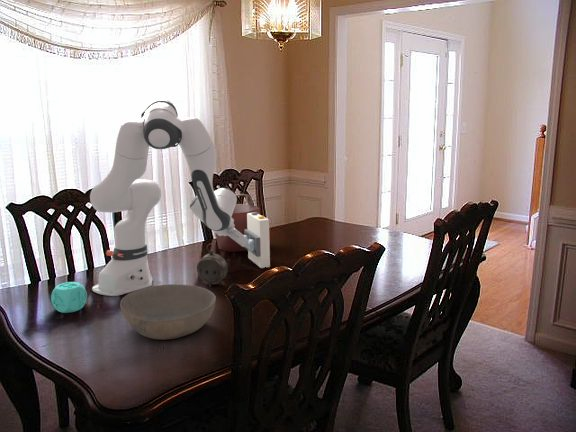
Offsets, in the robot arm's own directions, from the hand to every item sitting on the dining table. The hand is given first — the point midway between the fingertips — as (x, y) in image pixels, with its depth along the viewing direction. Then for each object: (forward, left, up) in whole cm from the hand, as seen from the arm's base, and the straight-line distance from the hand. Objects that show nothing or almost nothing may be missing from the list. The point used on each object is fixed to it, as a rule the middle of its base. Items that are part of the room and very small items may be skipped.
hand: (247, 245), depth 214 cm
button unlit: (+6, +6, -3) cm, 9 cm away
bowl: (-61, -16, -9) cm, 64 cm away
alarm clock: (-25, -2, -9) cm, 27 cm away
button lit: (+2, -1, -3) cm, 3 cm away
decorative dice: (-66, +25, -9) cm, 71 cm away
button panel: (+7, 0, -9) cm, 12 cm away
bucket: (+23, +23, -9) cm, 34 cm away
